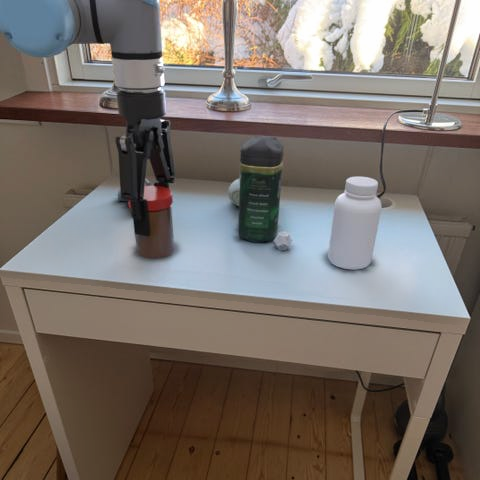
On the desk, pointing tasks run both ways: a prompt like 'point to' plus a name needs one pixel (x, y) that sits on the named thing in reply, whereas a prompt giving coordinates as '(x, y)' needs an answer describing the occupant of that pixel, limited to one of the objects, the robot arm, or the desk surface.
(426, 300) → the desk surface
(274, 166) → the coffee jar
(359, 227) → the pill bottle
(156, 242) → the jam jar
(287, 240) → the game die
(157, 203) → the lid
